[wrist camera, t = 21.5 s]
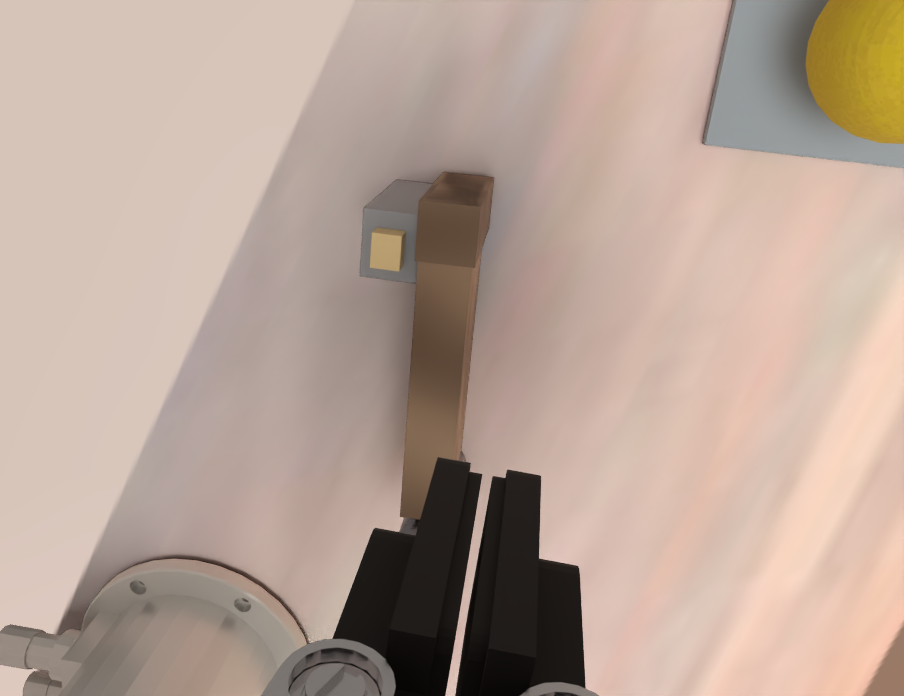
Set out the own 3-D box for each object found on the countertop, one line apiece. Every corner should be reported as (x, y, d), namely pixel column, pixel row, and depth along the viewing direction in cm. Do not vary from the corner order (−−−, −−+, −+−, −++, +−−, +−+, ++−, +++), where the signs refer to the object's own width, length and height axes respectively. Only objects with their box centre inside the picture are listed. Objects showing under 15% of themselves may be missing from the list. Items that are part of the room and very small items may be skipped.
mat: (702, 142, 30) (705, 144, 29) (753, -95, 27) (757, -97, 26) (945, 171, 29) (953, 173, 29) (1025, -69, 26) (1036, -71, 26)
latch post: (392, 236, 33) (354, 282, 26) (396, 179, 32) (358, 212, 25) (439, 242, 32) (412, 290, 26) (445, 185, 32) (418, 220, 25)
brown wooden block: (466, 448, 35) (449, 525, 29) (421, 442, 35) (397, 517, 29) (493, 177, 30) (480, 207, 25) (443, 172, 30) (418, 200, 25)
